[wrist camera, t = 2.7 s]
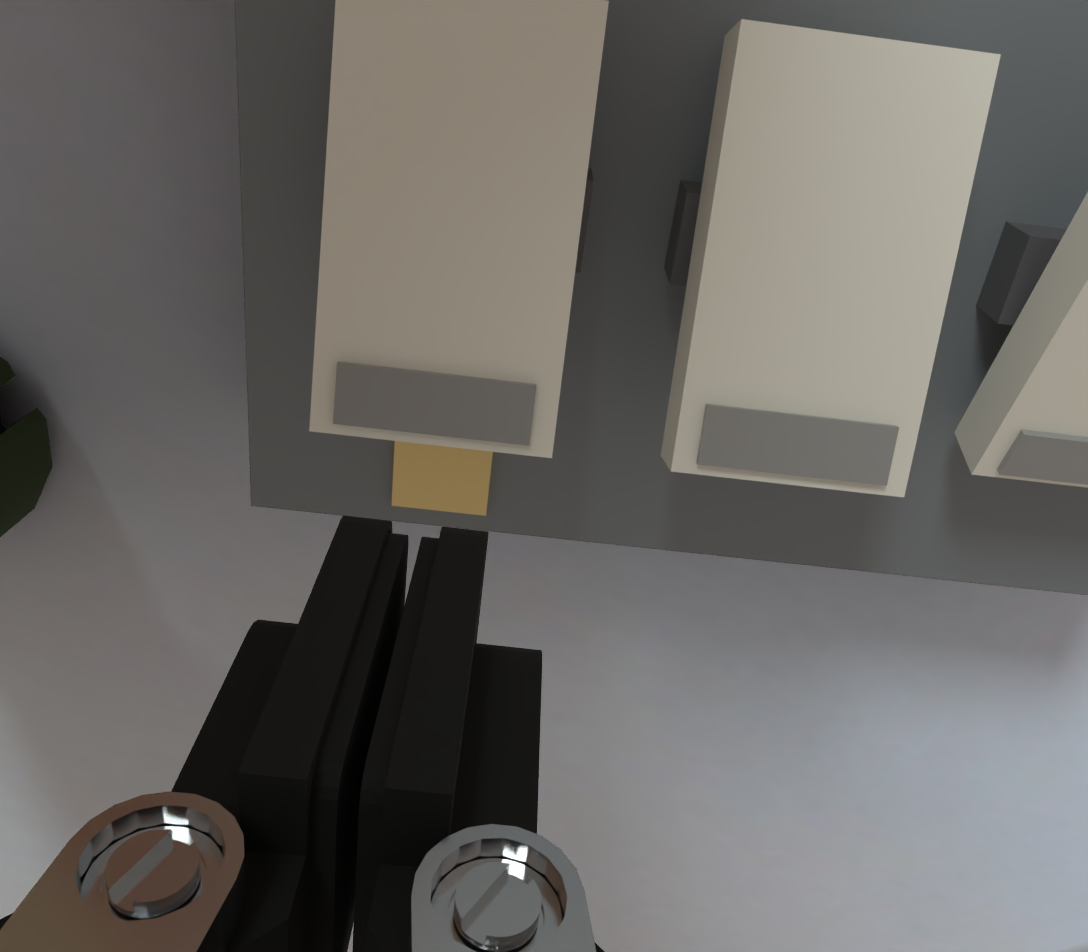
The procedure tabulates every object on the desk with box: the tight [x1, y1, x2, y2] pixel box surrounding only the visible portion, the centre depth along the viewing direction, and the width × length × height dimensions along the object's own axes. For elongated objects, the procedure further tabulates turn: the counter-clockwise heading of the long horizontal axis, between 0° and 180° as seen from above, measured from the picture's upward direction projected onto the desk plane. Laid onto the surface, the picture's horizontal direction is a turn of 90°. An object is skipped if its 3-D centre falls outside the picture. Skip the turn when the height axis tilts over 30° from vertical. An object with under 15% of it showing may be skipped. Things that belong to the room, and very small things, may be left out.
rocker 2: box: [661, 19, 1001, 497], centre depth 16 cm, size 7×4×1 cm, turn 173°
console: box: [235, 0, 1088, 595], centre depth 19 cm, size 14×20×5 cm
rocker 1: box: [309, 0, 609, 458], centre depth 15 cm, size 7×4×1 cm, turn 173°
